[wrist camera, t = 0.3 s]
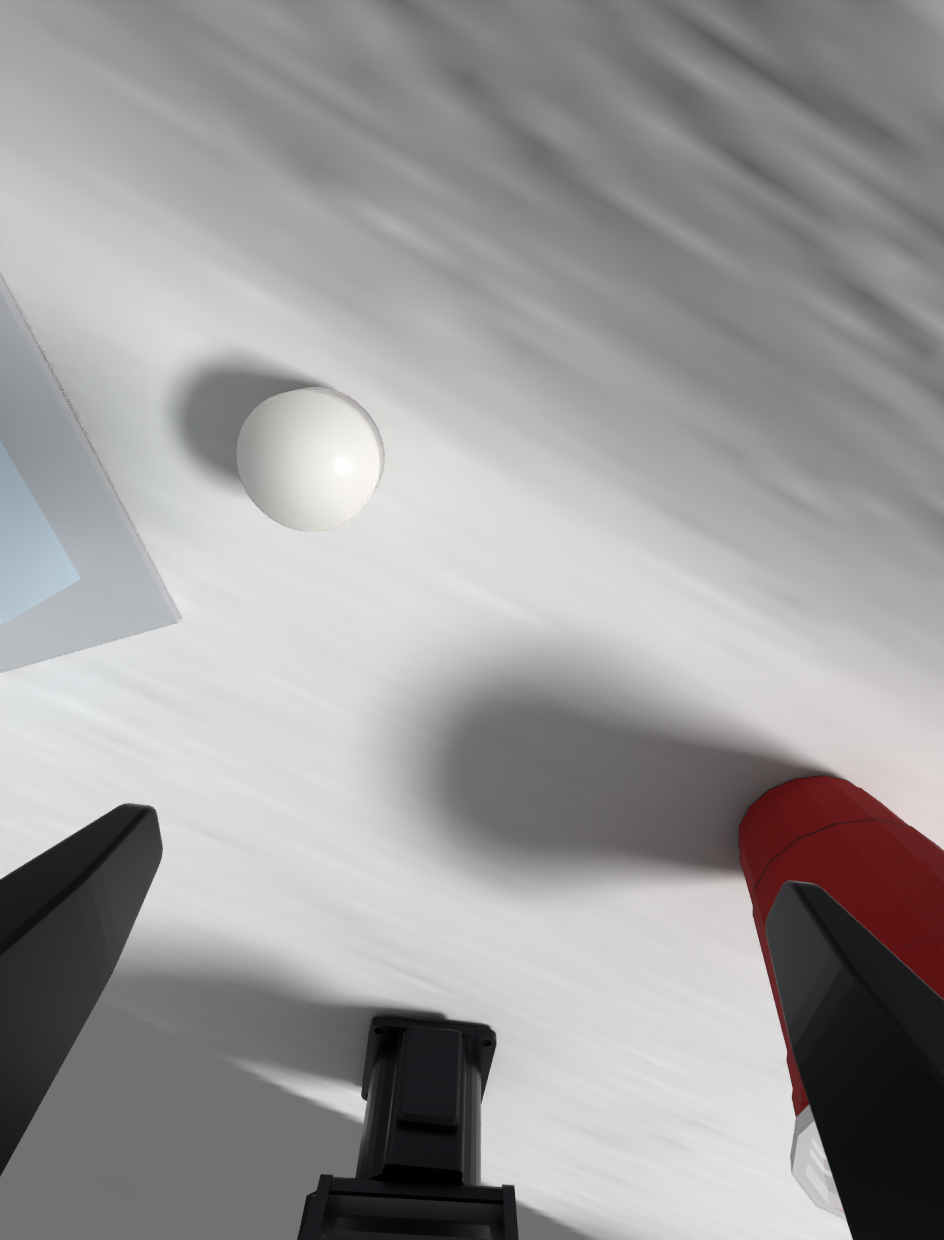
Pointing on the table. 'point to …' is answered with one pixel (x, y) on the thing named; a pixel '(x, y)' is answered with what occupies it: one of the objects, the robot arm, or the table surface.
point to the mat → (69, 515)
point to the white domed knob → (310, 458)
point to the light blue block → (26, 548)
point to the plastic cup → (843, 904)
